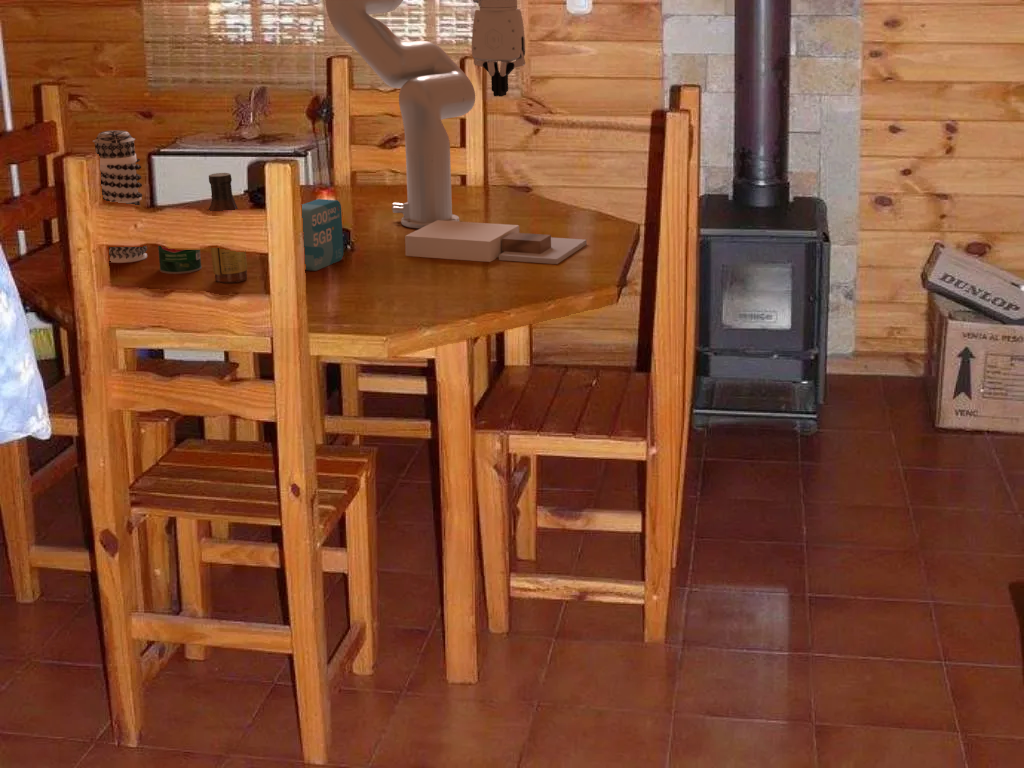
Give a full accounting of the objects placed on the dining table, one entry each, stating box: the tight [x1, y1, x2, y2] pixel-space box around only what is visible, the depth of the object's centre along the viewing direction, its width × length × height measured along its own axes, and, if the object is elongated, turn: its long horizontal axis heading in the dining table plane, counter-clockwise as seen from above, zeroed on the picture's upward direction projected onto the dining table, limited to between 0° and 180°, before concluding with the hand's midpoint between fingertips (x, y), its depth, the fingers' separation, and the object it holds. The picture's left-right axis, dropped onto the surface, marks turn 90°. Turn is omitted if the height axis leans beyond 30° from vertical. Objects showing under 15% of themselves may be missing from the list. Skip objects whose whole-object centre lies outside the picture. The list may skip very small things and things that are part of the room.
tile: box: [502, 232, 552, 254], centre depth 293 cm, size 8×6×2 cm
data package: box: [301, 198, 344, 272], centre depth 286 cm, size 12×4×12 cm, turn 156°
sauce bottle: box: [208, 172, 248, 284], centre depth 274 cm, size 6×6×20 cm
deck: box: [404, 220, 520, 263], centre depth 297 cm, size 18×16×4 cm
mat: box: [498, 236, 587, 265], centre depth 295 cm, size 12×18×1 cm, turn 159°
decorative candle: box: [92, 130, 148, 264], centre depth 292 cm, size 9×9×25 cm
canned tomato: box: [157, 245, 202, 275], centre depth 284 cm, size 8×8×11 cm
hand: (500, 95), depth 300 cm, fingers closed
